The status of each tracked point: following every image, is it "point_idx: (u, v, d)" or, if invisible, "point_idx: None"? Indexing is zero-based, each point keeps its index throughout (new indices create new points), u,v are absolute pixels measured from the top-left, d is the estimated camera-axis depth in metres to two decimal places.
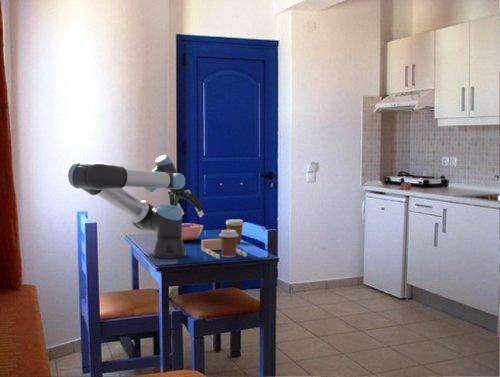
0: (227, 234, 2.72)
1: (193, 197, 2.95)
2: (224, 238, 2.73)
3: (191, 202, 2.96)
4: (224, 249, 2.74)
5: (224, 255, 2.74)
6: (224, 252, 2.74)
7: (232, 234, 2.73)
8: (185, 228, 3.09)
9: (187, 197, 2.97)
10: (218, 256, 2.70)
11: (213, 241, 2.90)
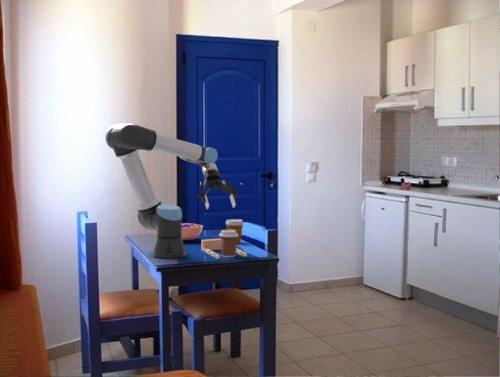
0: (227, 234, 2.72)
1: None
2: (224, 238, 2.73)
3: (228, 189, 2.92)
4: (224, 249, 2.74)
5: (224, 255, 2.74)
6: (224, 252, 2.74)
7: (232, 234, 2.73)
8: (185, 228, 3.09)
9: None
10: (218, 256, 2.70)
11: (213, 241, 2.90)
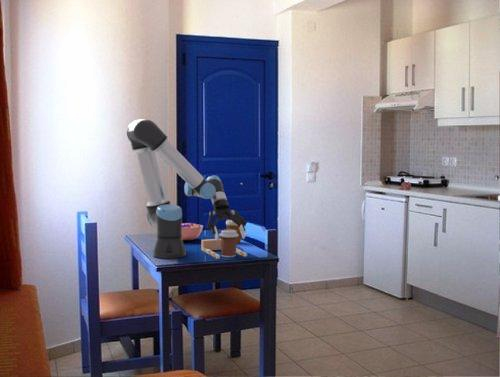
0: (227, 234, 2.72)
1: None
2: (224, 238, 2.73)
3: (237, 219, 2.87)
4: (224, 249, 2.74)
5: (224, 255, 2.74)
6: (224, 252, 2.74)
7: (232, 234, 2.73)
8: (185, 228, 3.09)
9: None
10: (218, 256, 2.70)
11: (213, 241, 2.90)
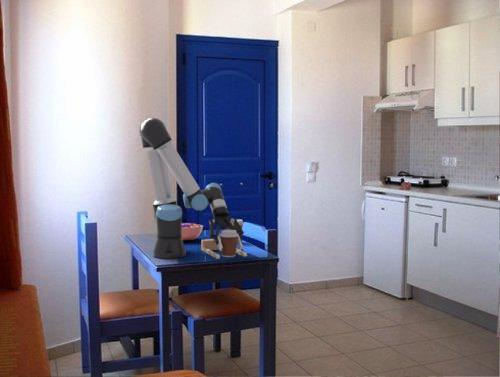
0: (227, 234, 2.72)
1: None
2: (224, 238, 2.73)
3: (235, 229, 2.80)
4: (224, 249, 2.74)
5: (224, 255, 2.74)
6: (224, 252, 2.74)
7: (232, 234, 2.73)
8: (185, 228, 3.09)
9: None
10: (218, 256, 2.70)
11: (213, 241, 2.90)
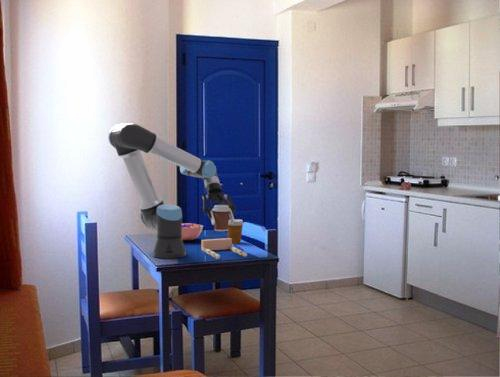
0: (220, 208, 2.81)
1: None
2: (217, 212, 2.81)
3: (228, 204, 2.89)
4: (217, 223, 2.82)
5: (217, 229, 2.83)
6: (217, 226, 2.82)
7: (225, 209, 2.81)
8: (185, 228, 3.09)
9: None
10: (218, 256, 2.70)
11: (213, 241, 2.90)
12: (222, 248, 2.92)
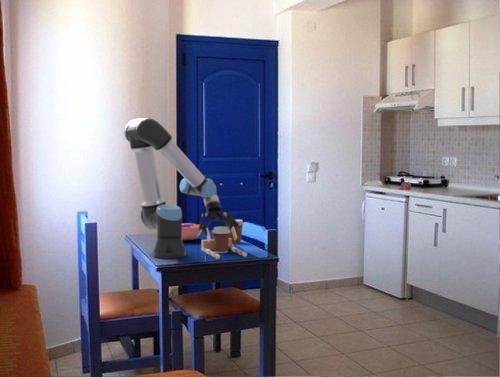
0: (220, 231, 2.82)
1: None
2: (217, 235, 2.83)
3: (229, 221, 2.91)
4: (217, 245, 2.83)
5: (217, 251, 2.84)
6: (217, 248, 2.84)
7: (224, 231, 2.82)
8: (185, 228, 3.09)
9: None
10: (218, 256, 2.70)
11: (213, 241, 2.90)
12: None
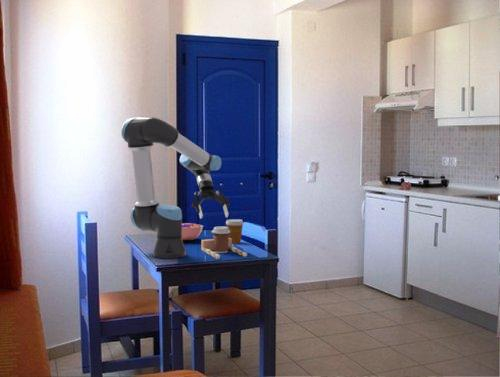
0: (220, 231, 2.82)
1: None
2: (217, 234, 2.83)
3: (221, 199, 3.02)
4: (217, 245, 2.83)
5: (217, 251, 2.84)
6: (217, 248, 2.84)
7: (224, 231, 2.82)
8: (185, 228, 3.09)
9: None
10: (218, 256, 2.70)
11: (213, 241, 2.90)
12: None
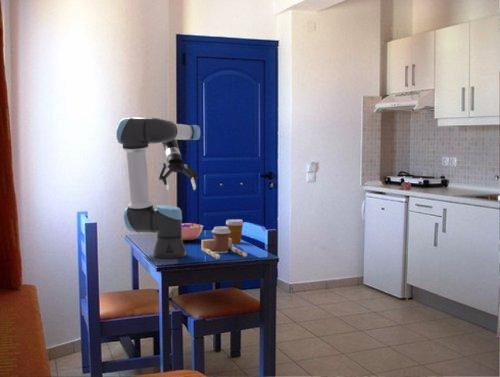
0: (220, 231, 2.82)
1: None
2: (217, 235, 2.83)
3: (189, 172, 3.02)
4: (217, 245, 2.83)
5: (217, 251, 2.84)
6: (217, 248, 2.84)
7: (225, 231, 2.82)
8: (185, 228, 3.09)
9: None
10: (218, 256, 2.70)
11: (213, 241, 2.90)
12: None
